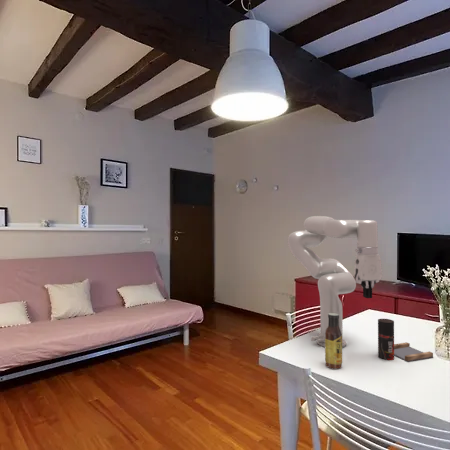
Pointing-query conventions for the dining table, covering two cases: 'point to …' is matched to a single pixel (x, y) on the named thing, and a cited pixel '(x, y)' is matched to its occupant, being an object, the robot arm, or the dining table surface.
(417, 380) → the dining table surface
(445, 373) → the dining table surface
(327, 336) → the sauce bottle
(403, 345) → the side rails
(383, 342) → the deodorant
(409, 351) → the mat
